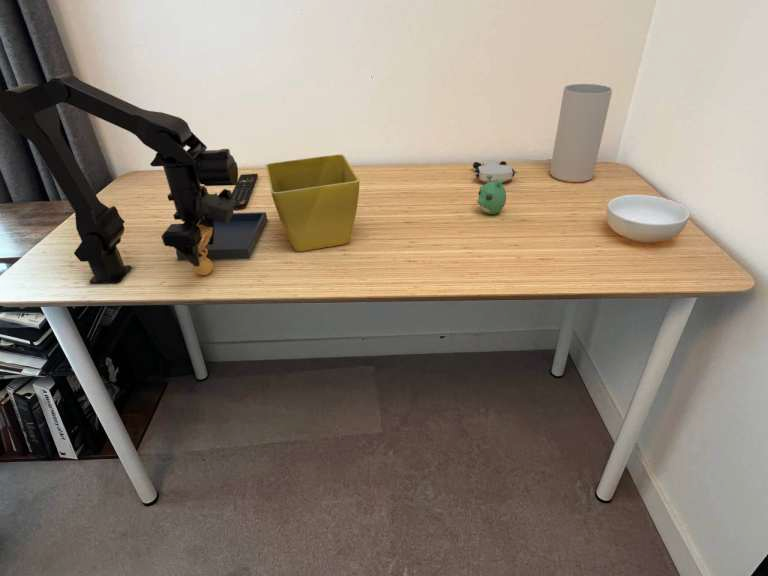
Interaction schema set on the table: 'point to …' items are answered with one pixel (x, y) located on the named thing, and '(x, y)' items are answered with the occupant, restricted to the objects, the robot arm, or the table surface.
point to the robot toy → (493, 170)
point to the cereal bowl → (646, 218)
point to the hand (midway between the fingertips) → (204, 254)
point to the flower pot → (315, 200)
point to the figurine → (205, 262)
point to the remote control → (243, 190)
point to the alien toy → (492, 196)
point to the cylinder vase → (579, 131)
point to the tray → (235, 237)
